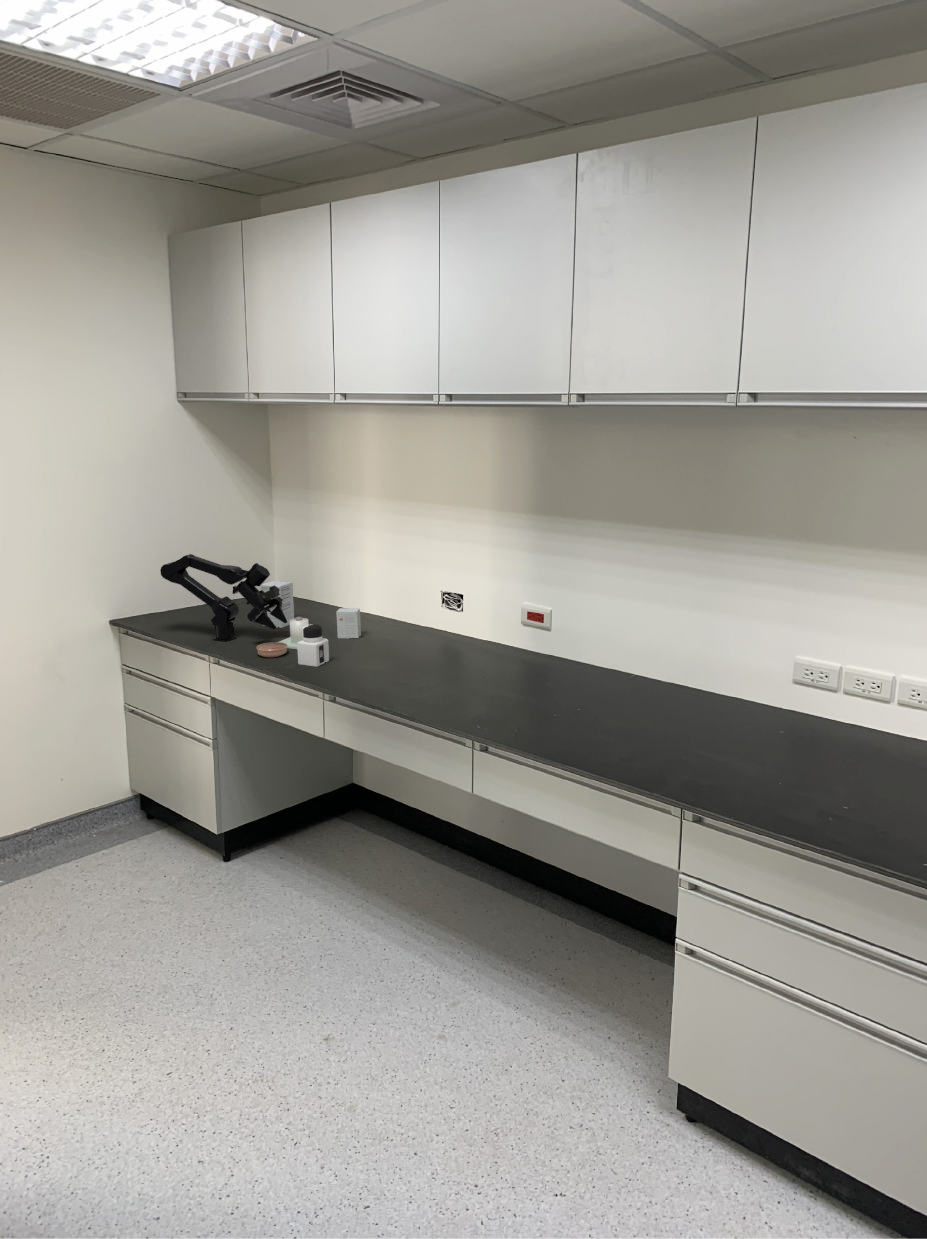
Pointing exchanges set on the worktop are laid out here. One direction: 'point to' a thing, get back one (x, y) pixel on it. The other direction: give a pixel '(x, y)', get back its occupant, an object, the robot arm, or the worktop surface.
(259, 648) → the bowl
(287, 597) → the supplement box
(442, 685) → the worktop surface
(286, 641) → the mat
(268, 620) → the robot arm
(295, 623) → the bottle
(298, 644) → the container
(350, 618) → the small box
